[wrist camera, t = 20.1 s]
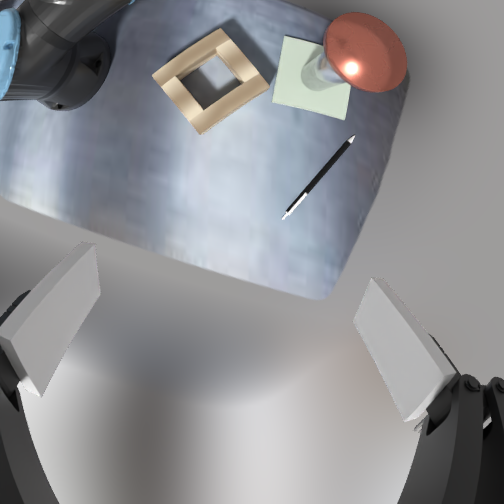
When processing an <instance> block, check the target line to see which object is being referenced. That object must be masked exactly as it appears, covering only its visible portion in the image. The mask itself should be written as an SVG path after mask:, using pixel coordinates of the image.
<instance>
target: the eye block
mask: <svg viewBox="0 0 504 504" xmlns="http://www.w3.org/2000/svg"><path fill="white" fill-rule="evenodd" d="M217 55H218V56H219V58H220V59H221V60H222V61H223V62H224V63H225V65H226V66H227V67H228V68H229V69H230V71H231V72H232V73H233V74H234V75H235V77H236V78H237V79H238V80H239V82H240V83H241V84H242V85H240V86H238V87H237V88H235V89H234V90H232V91H231V92H229V93H228V94H226V95H225V96H223V97H222V98H221V99H219V100H218V101H216V102H215V103H213V104H212V105H211V106H209V107H208V108H206V109H205V110H204V109H203V108H202V107H201V105H200V104H199V103H198V102H197V100H196V99H195V98H194V97H193V96H192V94H191V93H190V92H189V91H188V89H187V88H186V87H185V86H184V85H183V83H182V82H181V80H182V79H183V78H185V77H186V76H187V75H189V74H190V73H192V72H193V71H194V70H196V69H197V68H199V67H200V66H202V65H203V64H205V63H206V62H208V61H209V60H211V59H212V58H214V57H215V56H217ZM152 77H153V78H154V79H155V80H156V81H157V83H158V84H159V85H160V86H161V87H162V89H163V90H164V91H165V92H166V93H167V95H168V96H169V97H170V98H171V100H172V101H173V102H174V103H175V104H176V106H177V107H178V108H179V109H180V111H181V112H182V113H183V114H184V116H185V117H186V118H187V119H188V121H189V122H190V123H191V124H192V126H193V127H194V128H195V129H196V131H197V132H198V133H199V134H200V135H201V134H204V133H205V132H207V131H208V130H209V129H211V128H212V127H214V126H215V125H216V124H218V123H219V122H220V121H222V120H223V119H225V118H226V117H227V116H229V115H230V114H232V113H233V112H235V111H236V110H238V109H239V108H241V107H242V106H244V105H245V104H247V103H248V102H250V101H251V100H253V99H254V98H256V97H258V96H259V95H261V94H262V93H264V92H266V91H267V90H268V89H269V87H270V86H269V85H268V83H267V82H266V81H265V80H264V78H263V77H262V76H261V75H260V73H259V72H258V71H257V70H256V68H255V67H254V66H253V65H252V63H251V62H250V61H249V60H248V59H247V57H246V56H245V55H244V54H243V53H242V52H241V50H240V49H239V48H238V47H237V46H236V45H235V44H234V42H233V41H232V40H231V39H230V38H229V37H228V36H227V35H226V34H225V32H224V31H223V30H222V29H221V28H219V29H218V30H216V31H214V32H213V33H211V34H209V35H208V36H206V37H205V38H203V39H201V40H200V41H198V42H197V43H195V44H194V45H192V46H191V47H189V48H188V49H186V50H185V51H184V52H182V53H181V54H179V55H178V56H176V57H175V58H174V59H172V60H171V61H170V62H168V63H167V64H166V65H164V66H163V67H162V68H160V69H159V70H158V71H157V72H155V73H154V74H153V75H152Z"/></svg>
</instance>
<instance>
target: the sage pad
mask: <svg viewBox="0 0 504 504" xmlns="http://www.w3.org/2000/svg"><path fill="white" fill-rule="evenodd" d="M322 52H324V47H323V46H322V45H318V44H315V43H311V42H307V41H303V40H300V39H295V38H291V37H287V36H284V39H283V44H282V50H281V55H280V60H279V65H278V71H277V76H276V81H275V87H274V92H273V98H272V103H277V104H282V105H287V106H292V107H296V108H300V109H305V110H309V111H313V112H316V113H320V114H324V115H328V116H331V117H335V118H338V119H341V120H345V116H346V111H347V105H348V99H349V93H350V87H351V85H349V84H348V83H343V84H340V85H337V86H334V87H331V88H328V89H326V90H323V91H313V90H310V89H308V88H307V87H306V86H305V85H304V84H303V82H302V80H301V75H300V74H301V70H302V68H303V67H304V66H305V65H307V64H308V63H309V62H310V61H312V60H313V59H314V58H316V57H317V56H318V55H320V54H321V53H322Z"/></svg>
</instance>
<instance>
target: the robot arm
mask: <svg viewBox="0 0 504 504" xmlns="http://www.w3.org/2000/svg"><path fill="white" fill-rule="evenodd" d="M134 1H135V0H25V1H24V2H23V3H22V4H21V5H20V6H19V7H18V8H17V9H15V8H9V9H4V10H2V11H1V12H0V101H8V100H37V101H39V102H40V103H42V104H43V105H45V106H46V107H48V108H49V109H52V110H56V111H69V110H73V109H76V108H78V107H80V106H82V105H83V104H85V103H86V102H87V101H89V100H90V99H91V98H92V97H93V96H94V95H95V94H96V92H97V91H98V90H99V88H100V87H101V85H102V84H103V82H104V80H105V78H106V75H107V73H108V70H109V66H110V49H109V46H108V44H107V42H106V41H105V40H104V39H103V38H102V37H101V36H99V35H97V34H95V33H93V32H91V31H92V30H94V29H95V28H96V27H97V26H99V25H100V24H101V23H103V22H104V21H105V20H107V19H108V18H109V17H111V16H112V15H113V14H115V13H116V12H118V11H119V10H120V9H122V8H123V7H125V6H126V5H130V4H132V3H133V2H134ZM100 294H101V291H100V284H99V276H98V267H97V257H96V246H95V243H87V242H81V243H80V244H79V245H78V246H77V247H75V248H74V249H73V250H72V251H71V252H70V253H69V254H68V255H67V256H66V257H65V258H64V259H63V260H61V261H60V262H59V263H58V264H57V265H56V266H55V267H54V268H53V269H52V270H51V271H50V272H49V273H48V274H47V275H46V276H45V277H44V278H43V279H42V280H41V281H40V282H39V283H38V284H37V285H36V286H35V287H34V289H33V290H32V291H31V290H28V291H27V292H25V293H23V294H22V295H20V296H19V297H18V298H17V299H16V300H15V301H14V302H13V303H12V306H10V307H9V308H8V309H7V312H4V314H3V315H2V316H1V317H0V504H59V502H58V500H57V498H56V497H55V494H54V492H53V490H52V489H51V486H50V484H49V482H48V480H47V477H46V475H45V473H44V470H43V468H42V465H41V463H40V460H39V458H38V455H37V452H36V450H35V447H34V444H33V441H32V438H31V435H30V431H29V428H28V425H27V421H26V418H25V413H24V410H23V406H22V401H21V396H20V393H19V390H18V388H17V384H18V383H19V381H21V383H22V384H23V386H24V388H25V389H26V390H27V391H29V392H31V393H33V394H35V395H37V396H39V397H42V396H43V394H44V392H45V390H46V388H47V386H48V384H49V382H50V380H51V378H52V376H53V374H54V372H55V370H56V368H57V366H58V364H59V363H60V361H61V359H62V357H63V355H64V353H65V352H66V350H67V348H68V346H69V345H70V343H71V341H72V340H73V338H74V336H75V334H76V333H77V331H78V329H79V328H80V326H81V325H82V323H83V321H84V319H85V318H86V316H87V315H88V313H89V312H90V310H91V308H92V307H93V305H94V304H95V302H96V301H97V299H98V298H99V296H100ZM353 322H354V324H355V326H356V328H357V330H358V332H359V334H360V335H361V337H362V339H363V341H364V343H365V345H366V347H367V348H368V350H369V352H370V354H371V356H372V358H373V360H374V362H375V364H376V366H377V368H378V370H379V372H380V373H381V376H382V377H383V379H384V382H385V383H386V386H387V388H388V390H389V392H390V394H391V396H392V398H393V400H394V402H395V404H396V406H397V408H398V410H399V413H400V415H401V417H402V419H403V421H404V422H406V421H409V420H413V419H416V418H418V417H419V416H420V415H421V414H422V413H423V411H425V409H426V410H427V412H428V415H427V416H426V417H425V418H424V419H423V420H422V421H421V422H420V423H419V424H418V425H417V426H416V427H415V429H414V431H416V430H417V429H418V428H420V427H421V426H422V429H421V430H420V431H419V433H421V434H420V438H419V442H418V446H417V449H416V453H415V456H414V460H413V463H412V466H411V469H410V472H409V475H408V478H407V480H406V483H405V486H404V489H403V491H402V494H401V496H400V499H399V501H398V503H397V504H504V380H503V379H502V378H499V377H494V378H492V380H491V381H490V382H489V383H488V384H487V385H480V383H479V381H478V380H476V379H475V378H474V377H473V376H471V375H468V374H464V375H462V376H461V374H460V373H459V372H458V370H457V369H456V367H455V366H454V364H453V363H452V362H451V360H450V359H449V357H448V356H447V355H446V354H444V351H443V349H442V348H441V347H440V345H439V344H438V343H437V341H436V340H435V339H434V337H432V336H431V335H430V334H429V333H428V332H427V331H426V330H425V329H424V328H423V326H422V325H421V323H420V322H419V321H418V320H417V319H416V317H415V316H414V315H413V313H412V312H411V311H410V310H409V309H408V307H407V306H406V305H405V304H404V302H403V301H402V300H401V299H400V298H399V296H398V295H397V294H396V293H395V292H394V290H393V289H392V288H391V287H390V286H389V285H388V284H387V282H386V281H385V280H384V279H382V278H373V277H371V280H370V282H369V285H368V287H367V290H366V292H365V295H364V297H363V299H362V302H361V304H360V306H359V309H358V311H357V313H356V316H355V318H354V320H353ZM490 416H491V420H492V422H491V423H490V424H489V425H488V426H486V427H485V428H484V429H483V423H484V422H485V421H486V420H487V419H488V418H489V417H490Z"/></svg>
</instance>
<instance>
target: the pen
mask: <svg viewBox="0 0 504 504" xmlns="http://www.w3.org/2000/svg"><path fill="white" fill-rule="evenodd" d="M354 137H355V135H354V136H352V137H351V138H350V139H348V140H347V141H346V142H345V143H344V144H343V146H342V147H341V148H340V149H339V150H338V151H337V153H336V154H335V155H334V156H333V157H332V158H331V160H330V161H329V162H328V163H327V164H326V165H325V166H324V168H323V169H322V170H321V171H320V172H319V173H318V175H317V176H316V177H315V178H314V179H313V180H312V181H311V183H310V184H309V185H308V186H307V187H306V188H305V190H304V191H303V192H302V193H301V194H300V195H299V197H298V198H297V199H296V200H295V201H294V202H293V203H292V205H291V206H290V207H289V208H288V209H287V210H286V214H285V215H284V216H283V217H282V220H284V219H285V217H286V216H287V215H290V214H291V213H292V212H293V210H294V209H295V208H296V207H297V206H298V205H299V204H300V202H301V201H302V200H303V199H304V198H305V197H306V195H307V194H308V193H309V192H310V191H311V190H312V189H313V187H314V186H315V185H316V184H317V183H318V182H319V180H320V179H321V178H322V177H323V176H324V175H325V174H326V172H327V171H328V170H329V169H330V168H331V167H332V165H333V164H334V163H335V162H336V161H337V160H338V158H339V157H340V156H341V155H342V154H343V153H344V152H345V150H346V149H347V148H348V147H349V146H350V145H351V143H352V141H353V139H354Z"/></svg>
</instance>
